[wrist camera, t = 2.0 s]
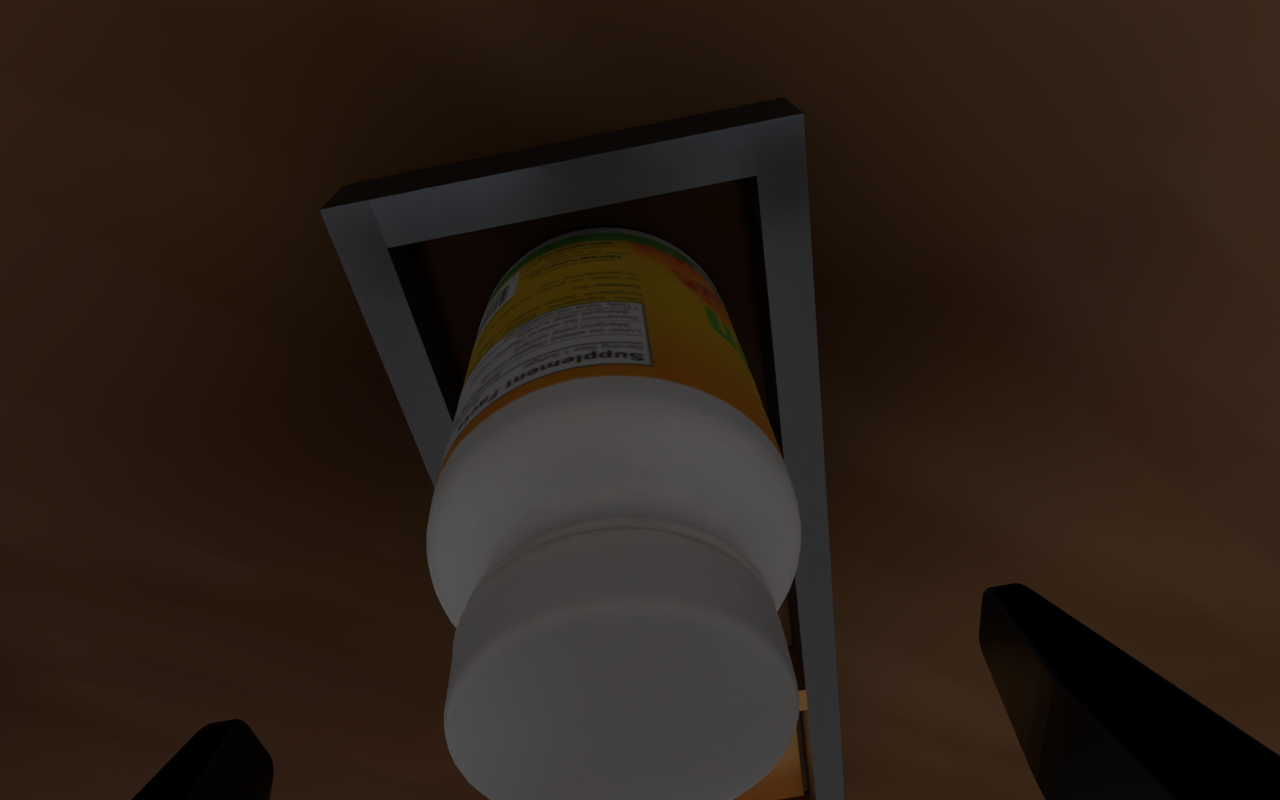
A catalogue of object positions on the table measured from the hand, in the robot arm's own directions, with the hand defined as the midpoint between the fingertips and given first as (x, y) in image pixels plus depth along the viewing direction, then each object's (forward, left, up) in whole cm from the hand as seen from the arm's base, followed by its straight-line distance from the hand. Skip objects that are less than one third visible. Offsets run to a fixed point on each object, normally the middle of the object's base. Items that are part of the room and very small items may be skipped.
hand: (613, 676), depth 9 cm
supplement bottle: (0, 0, -9) cm, 9 cm away
